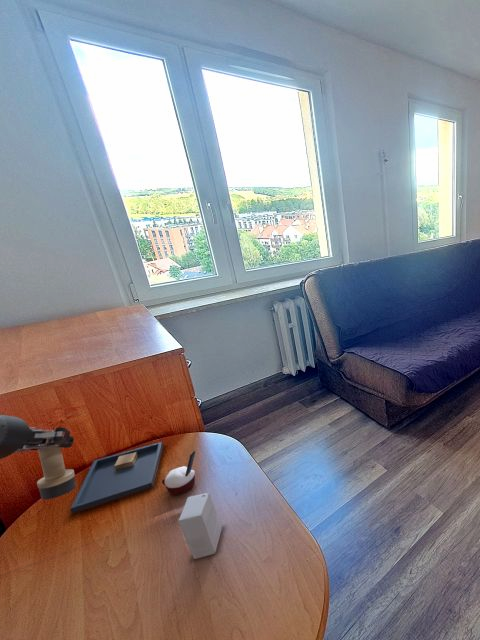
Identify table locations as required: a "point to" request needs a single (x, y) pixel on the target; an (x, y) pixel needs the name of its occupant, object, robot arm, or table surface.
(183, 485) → the cocoa
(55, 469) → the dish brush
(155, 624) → the table surface
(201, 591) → the table surface
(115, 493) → the tray
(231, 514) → the table surface
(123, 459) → the cork chip
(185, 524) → the cosmetic box
